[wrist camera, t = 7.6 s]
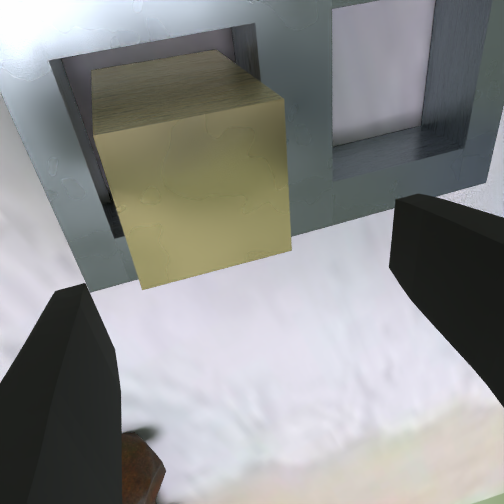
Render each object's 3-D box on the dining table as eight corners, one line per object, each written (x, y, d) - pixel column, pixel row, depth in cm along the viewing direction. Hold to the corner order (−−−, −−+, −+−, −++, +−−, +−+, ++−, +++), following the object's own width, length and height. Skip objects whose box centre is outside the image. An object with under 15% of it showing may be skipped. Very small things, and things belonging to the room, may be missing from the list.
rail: (482, -95, 16) (551, -104, 14) (442, 157, 22) (485, 182, 19) (-23, -22, 13) (-49, -17, 10) (90, 250, 19) (90, 292, 16)
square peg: (216, 49, 16) (284, 99, 10) (230, 162, 19) (291, 250, 13) (91, 70, 15) (93, 135, 10) (125, 185, 18) (142, 290, 12)
